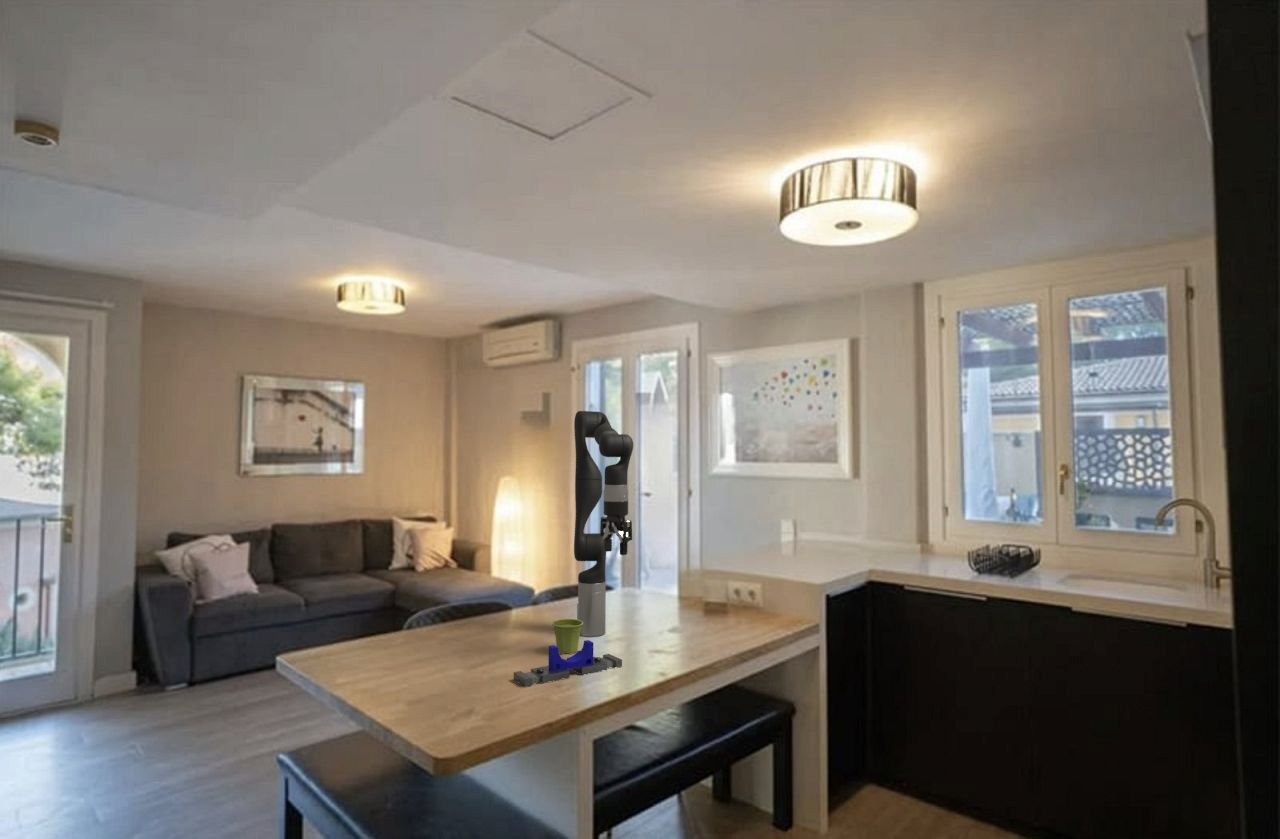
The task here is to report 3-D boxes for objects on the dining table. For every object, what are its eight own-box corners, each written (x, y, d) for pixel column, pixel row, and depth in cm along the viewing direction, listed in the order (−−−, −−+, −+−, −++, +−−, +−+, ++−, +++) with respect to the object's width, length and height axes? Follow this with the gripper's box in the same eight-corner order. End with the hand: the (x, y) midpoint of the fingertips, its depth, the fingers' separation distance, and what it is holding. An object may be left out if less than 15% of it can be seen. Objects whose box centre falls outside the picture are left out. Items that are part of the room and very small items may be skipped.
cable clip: (586, 660, 196) (586, 638, 196) (593, 664, 192) (593, 642, 192) (546, 666, 190) (546, 644, 190) (552, 671, 186) (552, 648, 186)
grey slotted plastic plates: (513, 679, 185) (513, 670, 185) (608, 660, 202) (608, 651, 202) (525, 687, 179) (525, 676, 179) (622, 666, 196) (622, 657, 196)
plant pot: (589, 651, 212) (589, 622, 212) (566, 657, 205) (566, 627, 206) (569, 645, 218) (569, 617, 219) (545, 651, 211) (545, 622, 212)
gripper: (593, 498, 216) (593, 551, 215) (618, 501, 204) (618, 557, 203) (613, 497, 220) (613, 549, 219) (639, 500, 208) (639, 554, 208)
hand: (615, 553), depth 211 cm, fingers open, 8 cm apart
